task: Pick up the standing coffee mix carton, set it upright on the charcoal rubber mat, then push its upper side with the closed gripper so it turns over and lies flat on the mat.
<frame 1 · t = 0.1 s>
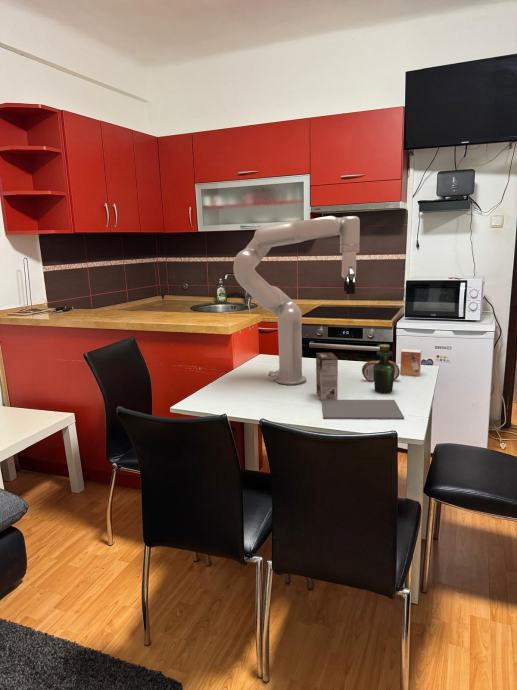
hand: (349, 292, 195), 37 cm above the table, tool pointing down, fingers open, 9 cm apart
potion bottle: (383, 391, 189), on the table
small box: (410, 374, 210), on the table
tin: (380, 381, 202), on the table
coffee box: (326, 397, 184), on the table
mat: (360, 409, 169), on the table
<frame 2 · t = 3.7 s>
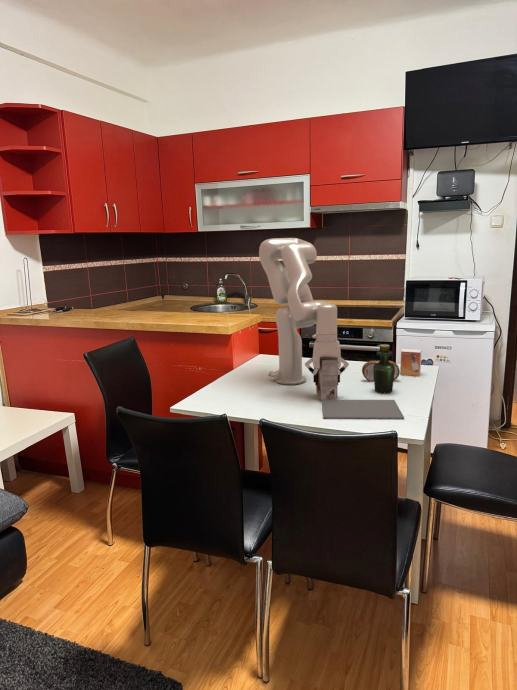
hand: (326, 384, 183), 5 cm above the table, tool pointing down, fingers closed on coffee box, 7 cm apart
coffee box: (326, 397, 184), on the table, touching gripper
everything else where it was.
when the fingers open (6 cm above the table, at t = 9.5 s): coffee box stays where it is, resting on mat.
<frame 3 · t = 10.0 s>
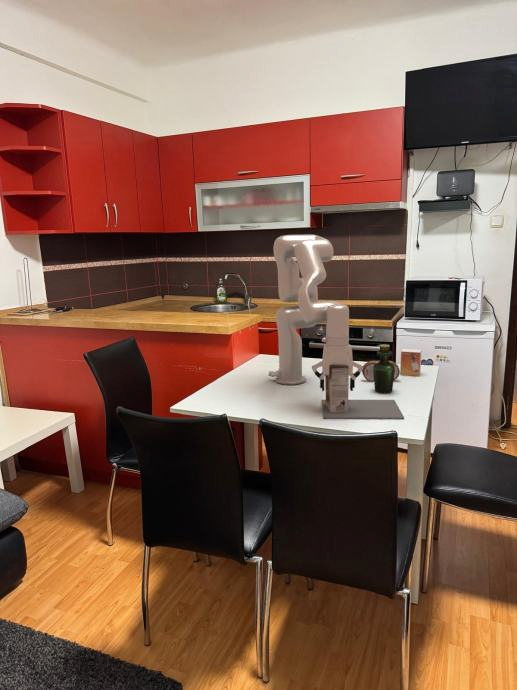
hand: (337, 390, 168), 7 cm above the table, tool pointing down, fingers open, 9 cm apart
coffee box: (336, 408, 170), resting on mat
everything else where it was.
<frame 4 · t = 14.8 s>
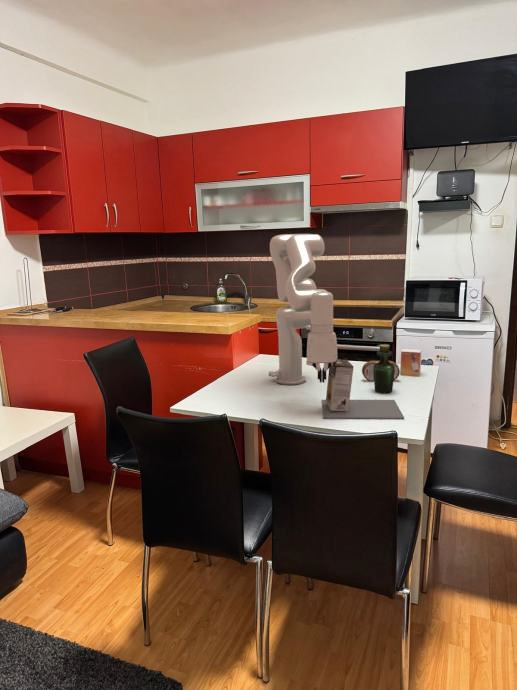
hand: (322, 381, 168), 10 cm above the table, tool pointing down, fingers closed
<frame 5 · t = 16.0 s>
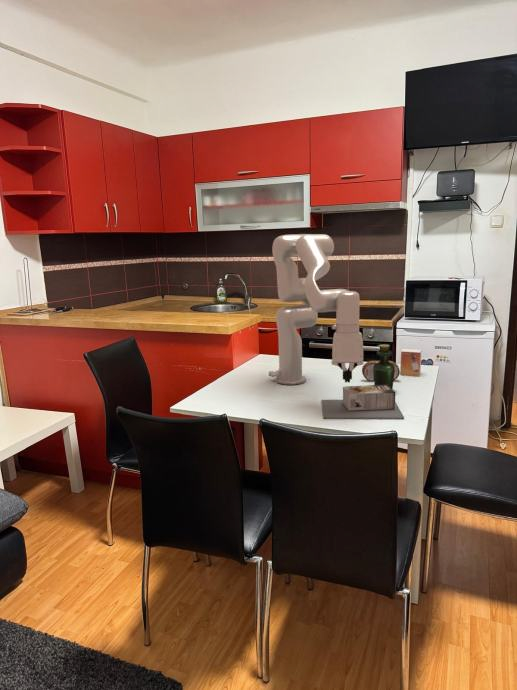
hand: (347, 381, 167), 10 cm above the table, tool pointing down, fingers closed
coffee box: (345, 398, 170), point 4 cm above the table, touching mat
everything else where it was.
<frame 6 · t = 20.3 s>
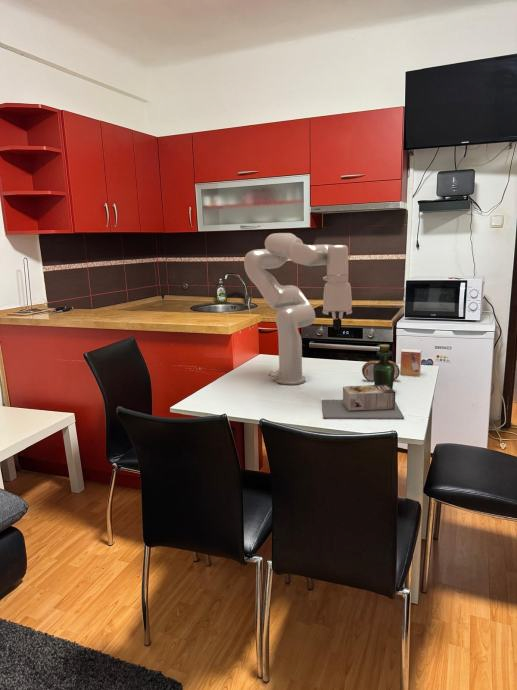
hand: (337, 329, 181), 25 cm above the table, tool pointing down, fingers closed
nothing on the table moved.
at the end: coffee box tilted 90°; coffee box inside the target area (5.2 cm from its centre), point 3.8 cm above the table; the gripper is holding nothing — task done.
